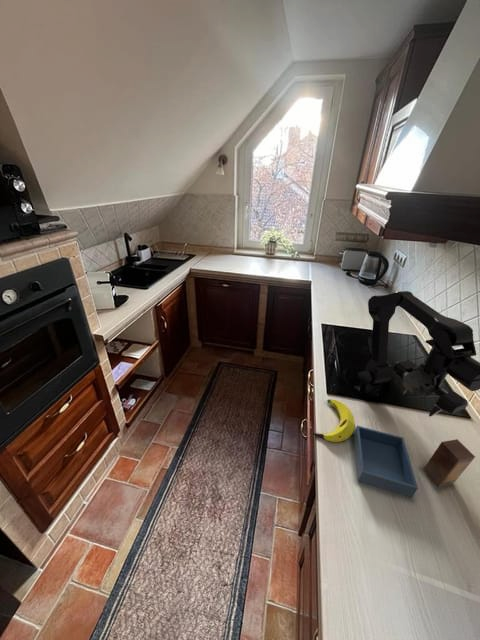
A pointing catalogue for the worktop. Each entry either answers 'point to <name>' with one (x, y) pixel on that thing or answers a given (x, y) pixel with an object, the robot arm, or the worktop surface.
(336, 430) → the banana
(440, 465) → the brown wooden block
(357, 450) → the blue tray
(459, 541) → the worktop surface
